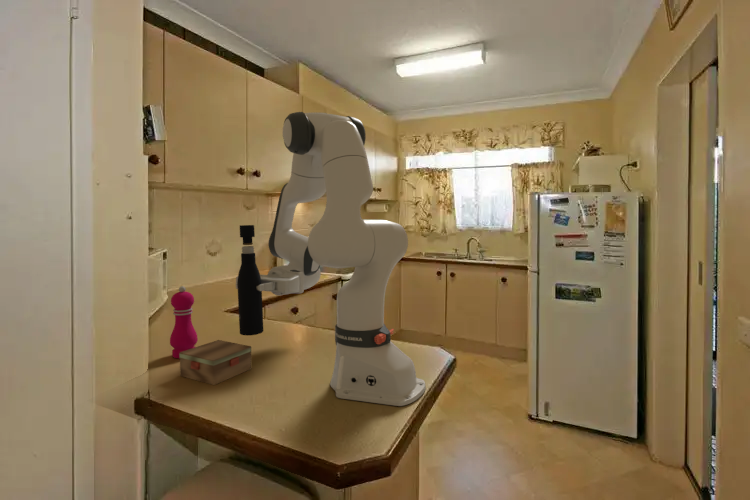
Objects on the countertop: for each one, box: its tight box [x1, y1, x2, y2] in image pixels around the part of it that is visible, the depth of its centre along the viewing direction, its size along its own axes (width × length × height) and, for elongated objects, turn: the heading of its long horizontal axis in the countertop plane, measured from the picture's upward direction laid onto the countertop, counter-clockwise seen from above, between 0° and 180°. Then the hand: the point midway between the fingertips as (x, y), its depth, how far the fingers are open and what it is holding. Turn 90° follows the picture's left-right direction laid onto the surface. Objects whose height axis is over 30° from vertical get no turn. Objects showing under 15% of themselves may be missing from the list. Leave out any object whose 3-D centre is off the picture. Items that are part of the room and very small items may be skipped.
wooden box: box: [178, 339, 252, 386], centre depth 104 cm, size 13×13×6 cm
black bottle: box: [237, 224, 264, 336], centre depth 113 cm, size 6×6×30 cm
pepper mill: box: [169, 285, 198, 360], centre depth 117 cm, size 7×7×20 cm
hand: (247, 287), depth 112 cm, fingers closed on black bottle, 6 cm apart
